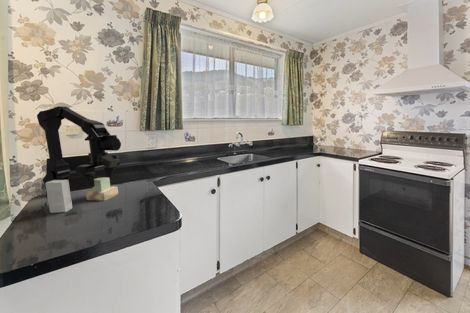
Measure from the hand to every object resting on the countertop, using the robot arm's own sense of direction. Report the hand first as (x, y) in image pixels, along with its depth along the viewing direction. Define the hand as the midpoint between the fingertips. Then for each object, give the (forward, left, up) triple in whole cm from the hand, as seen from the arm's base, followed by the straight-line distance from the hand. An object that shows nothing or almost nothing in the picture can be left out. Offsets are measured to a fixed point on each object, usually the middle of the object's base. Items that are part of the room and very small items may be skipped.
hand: (101, 184), depth 104 cm
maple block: (0, 0, -6) cm, 6 cm away
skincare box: (-3, -17, -6) cm, 19 cm away
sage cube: (0, 0, -2) cm, 2 cm away
